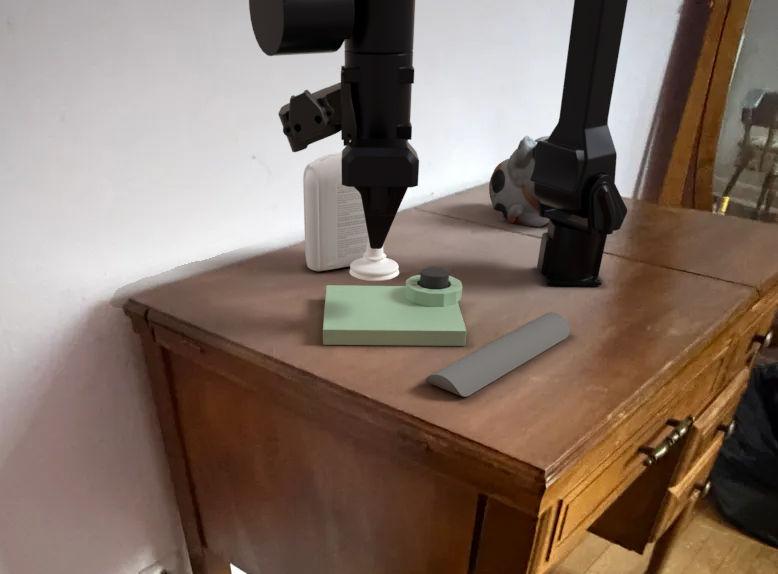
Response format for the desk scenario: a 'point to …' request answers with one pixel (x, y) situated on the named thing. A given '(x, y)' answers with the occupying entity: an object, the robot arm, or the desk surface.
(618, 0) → the robot arm
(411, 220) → the desk surface
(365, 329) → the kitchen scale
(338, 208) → the white rounded block
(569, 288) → the desk surface
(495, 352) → the gray half cylinder
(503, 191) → the lucky cat figurine
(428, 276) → the button
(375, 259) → the chess piece
